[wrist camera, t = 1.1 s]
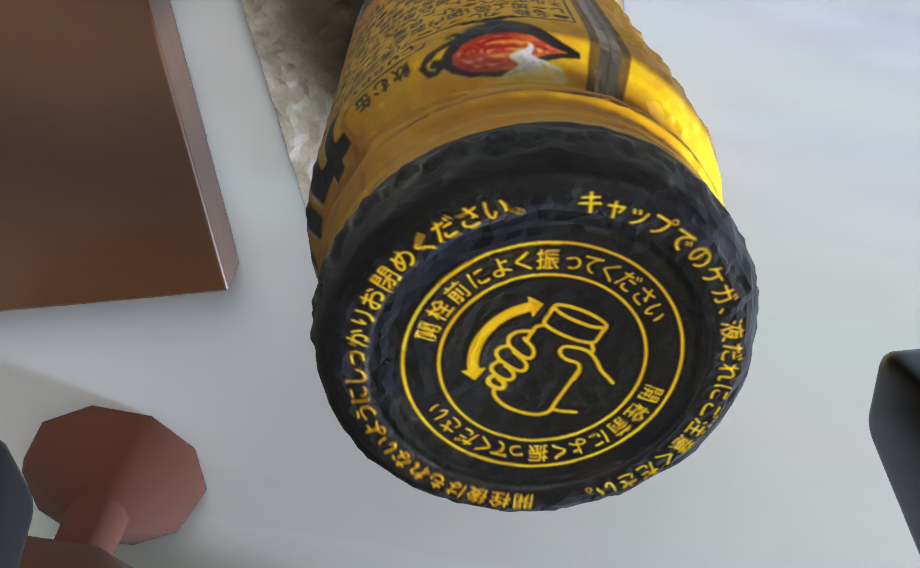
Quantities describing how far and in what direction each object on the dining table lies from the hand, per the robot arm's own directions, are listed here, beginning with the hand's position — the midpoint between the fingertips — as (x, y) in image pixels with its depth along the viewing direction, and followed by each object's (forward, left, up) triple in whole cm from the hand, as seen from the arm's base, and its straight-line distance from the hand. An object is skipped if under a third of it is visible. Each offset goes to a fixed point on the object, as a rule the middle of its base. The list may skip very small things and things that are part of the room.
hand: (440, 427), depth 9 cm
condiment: (0, 0, -13) cm, 13 cm away
